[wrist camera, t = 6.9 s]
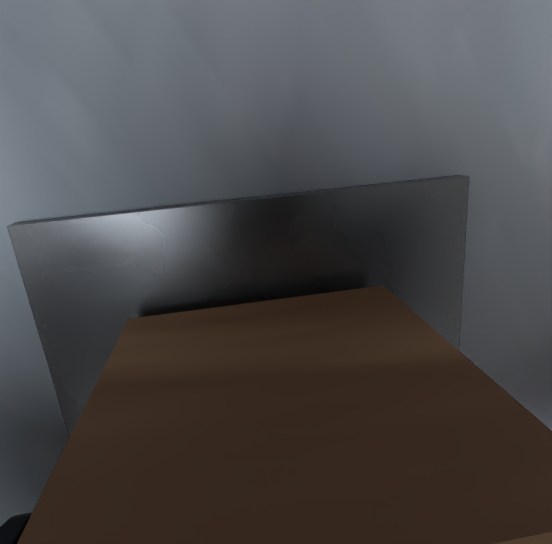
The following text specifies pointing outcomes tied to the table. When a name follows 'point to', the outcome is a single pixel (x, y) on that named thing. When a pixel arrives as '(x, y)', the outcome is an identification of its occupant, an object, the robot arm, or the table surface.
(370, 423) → the cardboard carton
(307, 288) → the gray square base stand
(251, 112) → the table surface
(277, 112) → the table surface
